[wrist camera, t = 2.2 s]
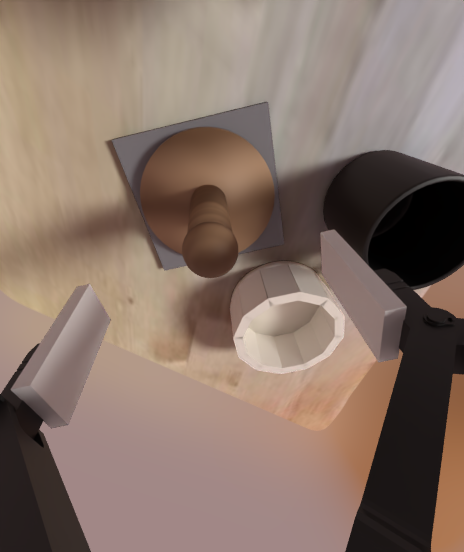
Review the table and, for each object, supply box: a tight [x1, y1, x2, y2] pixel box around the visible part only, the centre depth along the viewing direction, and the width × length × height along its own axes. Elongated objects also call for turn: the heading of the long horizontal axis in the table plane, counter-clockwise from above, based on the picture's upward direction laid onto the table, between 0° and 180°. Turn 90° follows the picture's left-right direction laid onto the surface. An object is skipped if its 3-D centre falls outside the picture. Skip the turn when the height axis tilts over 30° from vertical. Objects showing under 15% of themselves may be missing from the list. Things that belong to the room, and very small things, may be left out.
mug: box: [324, 150, 464, 290], centre depth 26 cm, size 9×12×9 cm
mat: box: [112, 102, 284, 270], centre depth 27 cm, size 13×13×1 cm
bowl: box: [230, 261, 344, 374], centre depth 33 cm, size 12×12×6 cm
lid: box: [140, 127, 275, 278], centre depth 22 cm, size 12×12×12 cm
